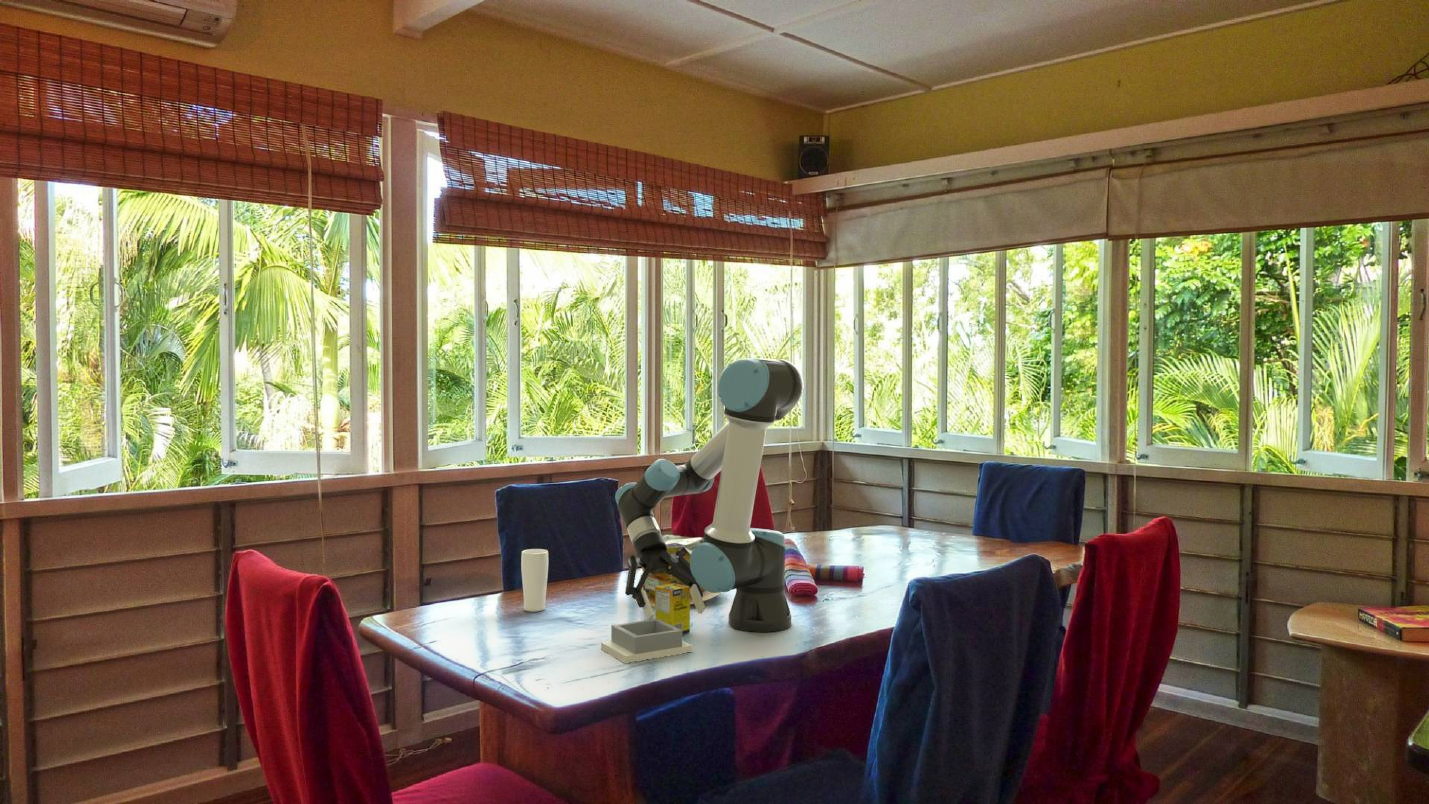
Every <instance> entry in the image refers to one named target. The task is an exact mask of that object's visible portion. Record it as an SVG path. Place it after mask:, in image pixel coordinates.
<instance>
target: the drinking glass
mask: <svg viewBox="0 0 1429 804" xmlns="http://www.w3.org/2000/svg"><path fill="white" fill-rule="evenodd" d="M520 560H521V562H520V566H521V567H520V568H521V581H522V590H523V591H522V592H523V593H522V594H523V609H524V611H525V612H530V613H532V612H533V613H537V612H542V611H544V610H545V608H546V599H547V598H546V597H547V585H548V575H549V551H548V550H547V549H543V548H530V549H524V550H522V551H521V557H520Z"/></svg>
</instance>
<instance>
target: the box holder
mask: <svg viewBox="0 0 1429 804" xmlns="http://www.w3.org/2000/svg"><path fill="white" fill-rule="evenodd" d="M610 632H611V633H610V636H611V638H610V639H611V640H607V641H601V643H600V644H601V645H600V649H601V651H603V652H605V653H607V654H609V655H610V656H612V657H614V658H616V659H617V660H619V661H620V662H622V661H623V663H624V664H630V663H629V662H631V663H634V662H633V661H637V662H642V661H641V660H643V661H647V660H646V659H649V660H651V659H650V658H655V659H660V657H661V658H665V657H664V656H667V657H669V656H668V655H673V656H678V655H677V654H679V655H683V654H682V653H685V654H687V653H686V652H691V653H693V645H692V644H690V643H688V642H686V641H684V640H683V634H682V630H680V629H678V628H676V627H674V626H672V625H670V624H667V623H665V622H663V621H661V620H659V619H655V618H654V619H653V618H652V619H651V620H647V619H645V620H639V621H632V622H627V623H625V622H624V623H619V624H618V623H617V624H613V625H612V624H611V631H610Z"/></svg>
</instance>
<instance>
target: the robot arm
mask: <svg viewBox="0 0 1429 804" xmlns="http://www.w3.org/2000/svg"><path fill="white" fill-rule="evenodd" d="M803 391H804V379H803V376H802V373H801V371H800V370H799V368H798V367H797V366H796V365H795V364H793V363H792V362H791V361H788V360H786V359H782V358H764V357H763V358H762V357H758V358H757V357H746V358H739V359H735V360H733V361H732V362H730V363H729V364H728V365H727V366H726V367H725V368H724V369H723V370H722V372H721V374H720V377H719V379H718V382H717V393H718V397H720V403H721V404H722V405H723V406H724V410H723V415H724V416H725V417H726V419H727V422H726V423H725V424H724V425H723V426H722V427H720V429H718V431H717V432H716V433H715V434H713V435H712V437H711V438H710V439H709V440H708V441H707V442H706V443H704V444H703V446H702V447H700V448H699V450H698V451H696V453H695V454H694V455H693V456H691V457H690V458H689V459H688V460H687V461H686V462H685V463H684V464H682V465H681V464H679V465H676V464H675V463H674V462H672V461H670V460H667V459H666V458H659V459H657V460H655V461H654V462H653V463H652V464H651V465H650V466H649V467H648V468H647V469H646V470H645V472H644V473H643V474H642V475H641V477H640V478H639V479H638V481H636V482H628V483H625V484H624V485H623V486H621V487H619V488H618V489H616V490H617V491H616V492H615V495H614V498H615V501H616V504H617V510H618V512H619V514H620V516H621V518H622V521H623V523H624V526H625V528H626V531H627V533H628V535H629V539H630V541H631V543H632V546H633V549H634V552H635V555H636V556H635V555H630V557H629V559H628V560H627V562H626V563H627V567H628V574H627V579H626V586H625V591H624V592H625V595H626V596H630V595H631V597H632V599H633V598H634V599H636V601H637V602H636V601H635V602H636V603H637V606H638V607H639V608H641V609H642V610H643V611H642V612H643V613H644V616H645V620H652V619H653V617H655V611H654V610H653V608H652V606H651V605H650V602H649V599H648V597H647V594H646V592H645V590H644V591H642V592H641V589H642V587H643V585H644V583H645V581H646V579H647V576H648V574H649V572H650V573H652V574H657V573H664V572H666V573H667V574H669V575H672V576H674V577H675V578H677V579H678V580H680V581H681V582H683V583H684V584H685V585H687V586H689V587H690V588H691V589H690V594H691V597H692V599H693V601H694V606H695V609H696V611H697V614H698V615H702V613H703V612H704V611H705V609H706V608H707V607H706V605H705V603H704V602H705V601H703V600H702V597H703V593H702V591H701V589H700V587H701V588H703V589H704V590H706V591H708V592H711V593H720V592H721V593H727V592H730V591H733V590H735V595H734V598H733V601H732V603H731V607H730V611H729V613H728V625H729V626H730V627H732V628H735V629H737V630H742V631H747V632H756V633H757V632H758V633H759V632H760V633H763V632H764V633H766V632H776V631H777V632H778V631H779V632H780V631H783V630H786V629H788V628H790V627H791V626H792V613H791V611H790V607H789V604H788V600H787V598H786V593H785V583H786V581H785V579H786V578H785V573H786V572H785V571H786V570H785V569H786V568H785V567H786V549H787V548H786V540H785V538H786V537H785V535H784V533H782V532H781V531H778V530H772V529H764V528H756V527H755V528H754V527H751V524H752V517H753V513H754V512H753V511H754V507H755V506H754V504H755V499H756V494H757V487H758V482H759V475H760V470H761V464H762V460H763V453H764V446H765V442H766V441H765V440H766V435H767V429H768V428H769V427H770V426H772V425H774V423H775V422H776V421H777V422H779V421H781V420H783V419H784V418H785V417H786V416H787V415H788V414H789V413H790V412H791V411H792V409H794V408H795V407H796V405H797V404H798V403H799V402H800V400H801V398H802V395H803ZM719 473H720V478H719V481H718V482H719V483H718V489H717V495H716V501H715V507H714V513H713V520H712V523H710V524H709V525H708V526H706V527H705V528H704V532H703V537H702V538H703V543H700V544H698V545H697V546H696V547H695V548H694V549H693V551H692V553H691V556H690V563H688V562H687V561H686V560H685V559H684V557H683V555H682V554H681V552H680V551H677V552H676V553H675V554H670V553H669V552H668V551H667V547H666V544H665V541H664V539H663V536H664V535H663V534H662V532H661V529H660V526H659V524H658V521H657V520H656V517H655V514H654V509H655V508H656V507H657V506H658V505H659V504H660V503H661V502H662V500H663V499H665V498H671V497H677V496H678V497H679V496H685V495H686V496H687V495H698V494H701V493H705V492H708V491H709V490H710V489H711V488H712V487H713V484H714V481H715V477H716V476H717V474H719ZM672 560H673V561H674V562H673V561H672ZM638 565H639V566H641V568H642V567H643V568H645V569H644V571H643V570H642V573H641V575H642V576H641V575H640V578H639V580H638V581H637V584H636V587H635V580H636V572H637V569H638V568H637V567H638ZM669 565H670V566H671V568H670V569H669V568H668V567H669ZM721 593H720V594H721ZM634 599H633V600H634Z"/></svg>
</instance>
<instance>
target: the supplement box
mask: <svg viewBox="0 0 1429 804" xmlns="http://www.w3.org/2000/svg"><path fill="white" fill-rule="evenodd" d="M690 610H691V604H690V587H689V586H685V585H680V584H676V583H669V584H664V585H659V586H656V587H655V607H654V619H659V620H661V621H663V622H665V623H667V624H670V625H672V626H674V627H676V628H678V629H680V630H682V635H684V634H689V633H690V631H691V627H690V626H691V623H690V622H691V617H690V616H691V615H690V614H691V611H690Z"/></svg>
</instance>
